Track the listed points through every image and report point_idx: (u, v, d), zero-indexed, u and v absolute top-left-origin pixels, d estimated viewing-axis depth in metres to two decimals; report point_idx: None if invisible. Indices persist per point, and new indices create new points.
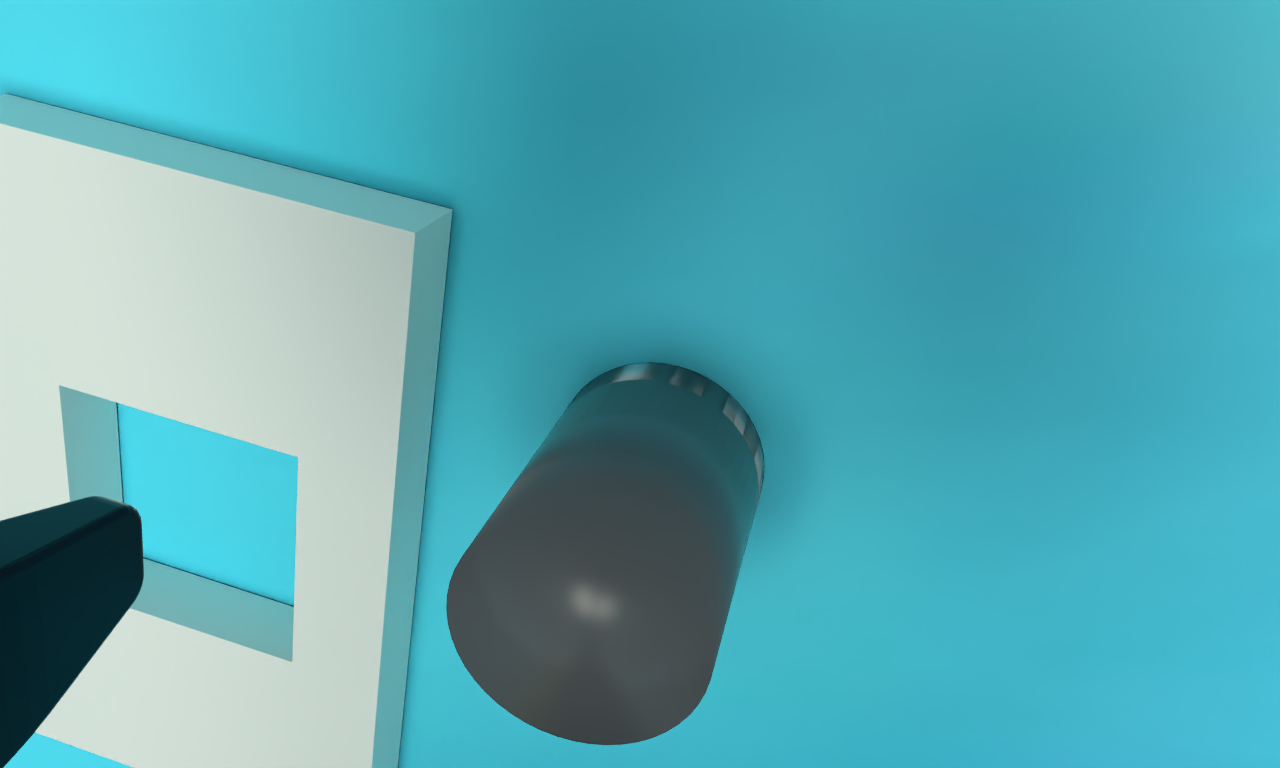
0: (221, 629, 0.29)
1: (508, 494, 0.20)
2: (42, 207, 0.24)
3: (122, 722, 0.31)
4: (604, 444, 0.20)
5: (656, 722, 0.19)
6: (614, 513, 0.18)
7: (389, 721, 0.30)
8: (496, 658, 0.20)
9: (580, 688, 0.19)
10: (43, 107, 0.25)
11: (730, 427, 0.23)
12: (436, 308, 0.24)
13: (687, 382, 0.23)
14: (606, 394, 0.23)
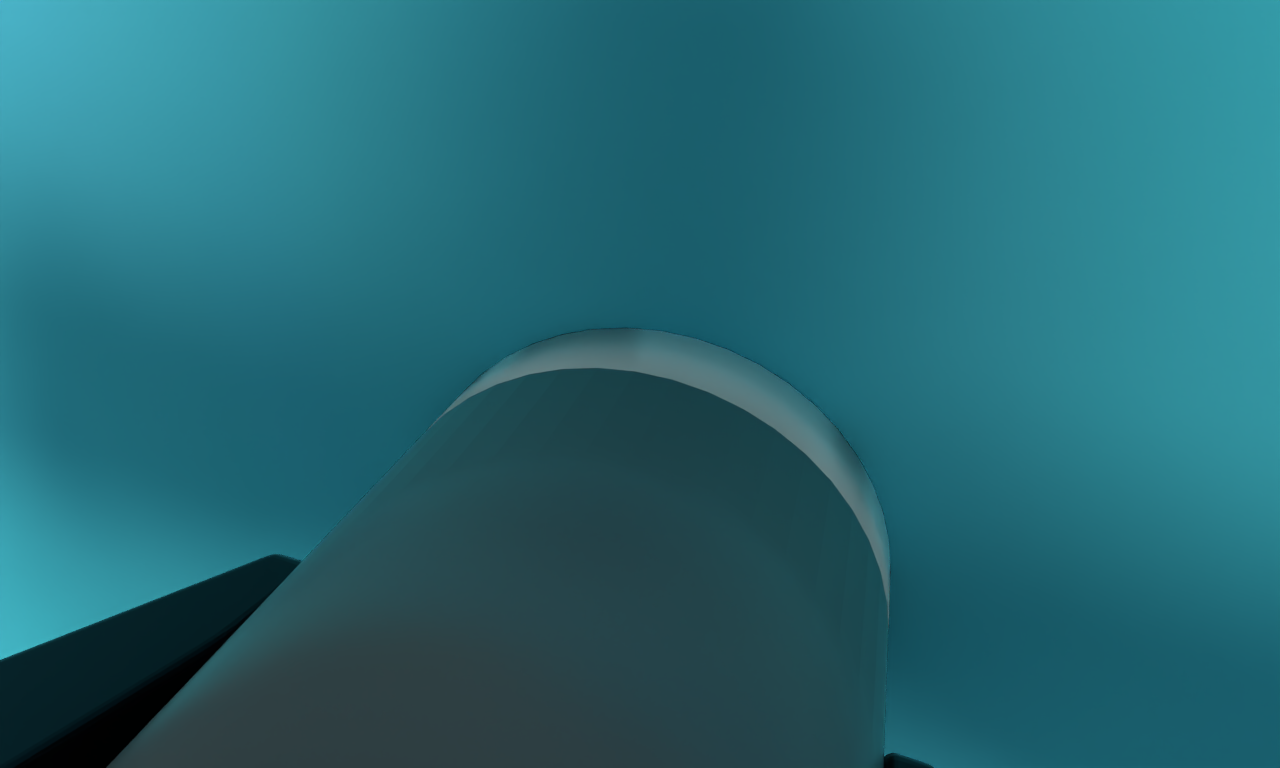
0: None
1: None
2: None
3: None
4: None
5: None
6: None
7: None
8: None
9: None
10: None
11: None
12: None
13: None
14: None
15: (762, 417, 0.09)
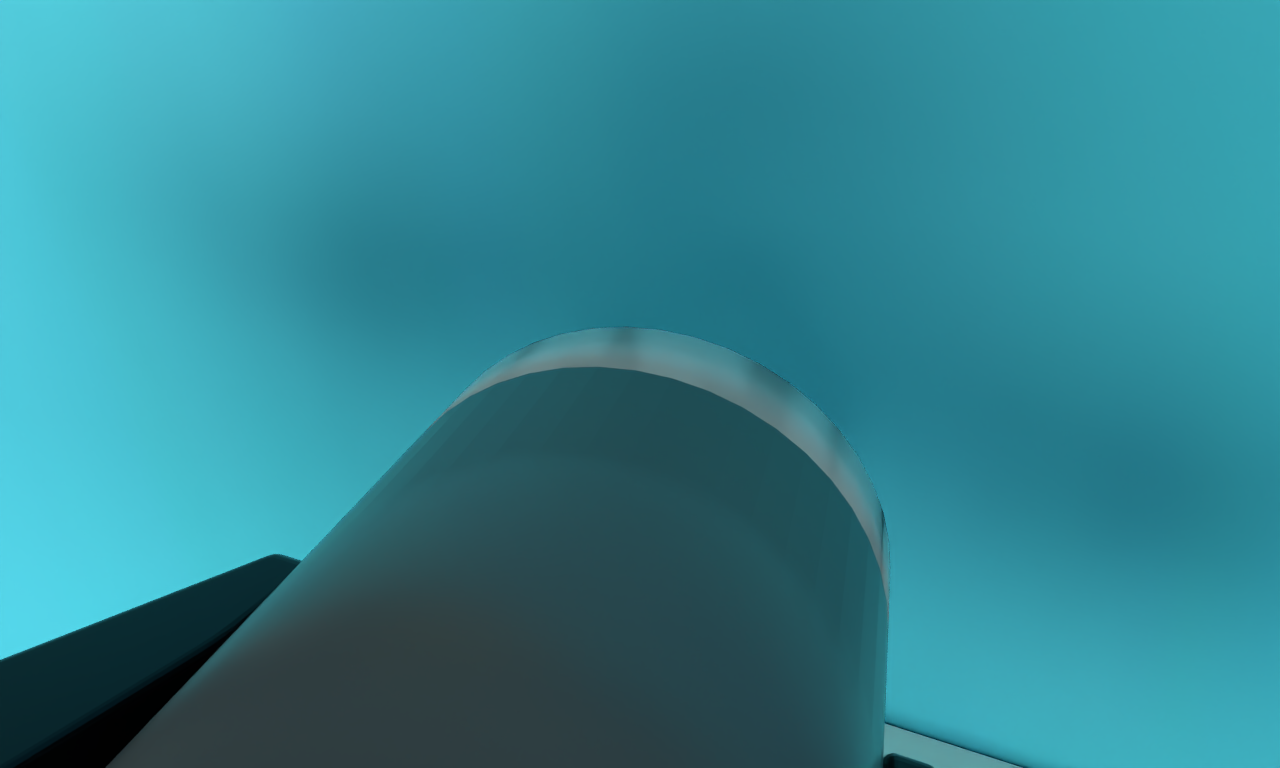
0: None
1: None
2: None
3: None
4: None
5: None
6: None
7: None
8: None
9: None
10: None
11: (434, 426, 0.09)
12: None
13: None
14: None
15: (762, 416, 0.09)
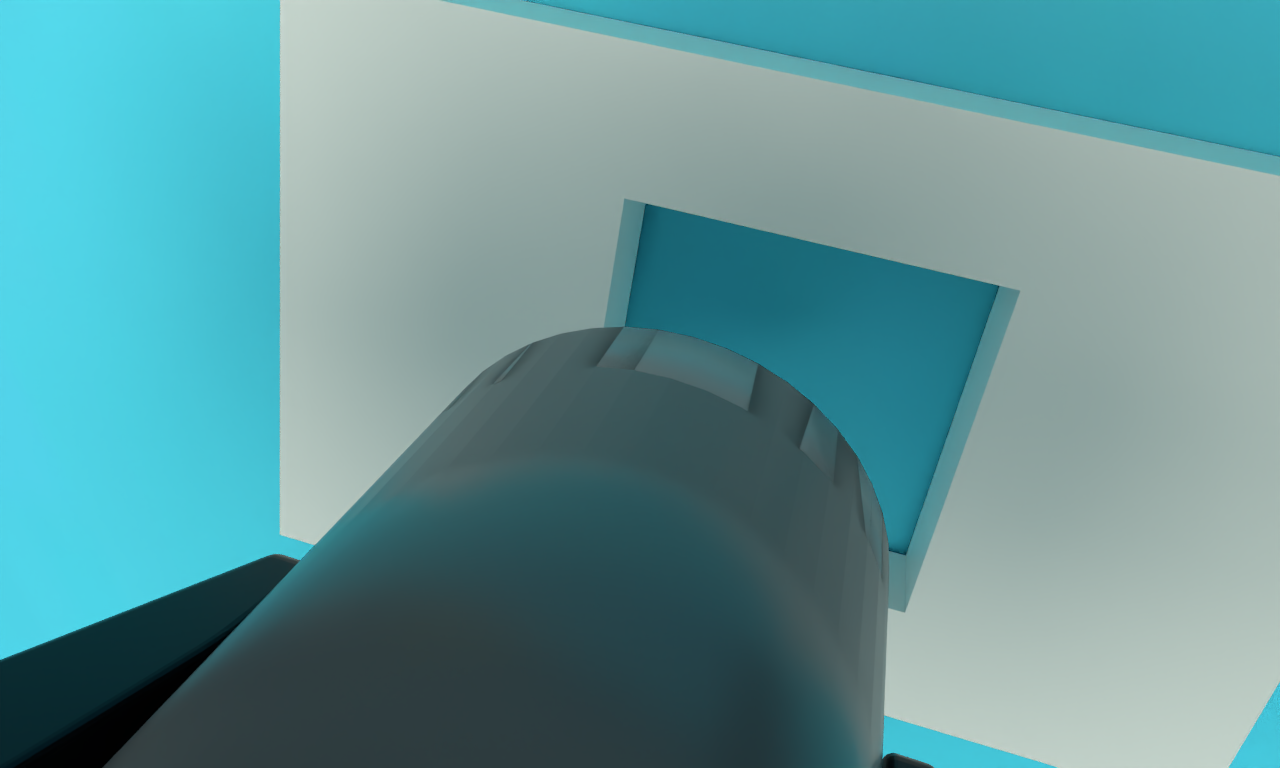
0: (974, 409, 0.18)
1: None
2: (357, 457, 0.21)
3: (1181, 637, 0.18)
4: None
5: None
6: None
7: (1203, 150, 0.16)
8: None
9: None
10: None
11: (432, 426, 0.09)
12: None
13: None
14: None
15: (762, 415, 0.09)
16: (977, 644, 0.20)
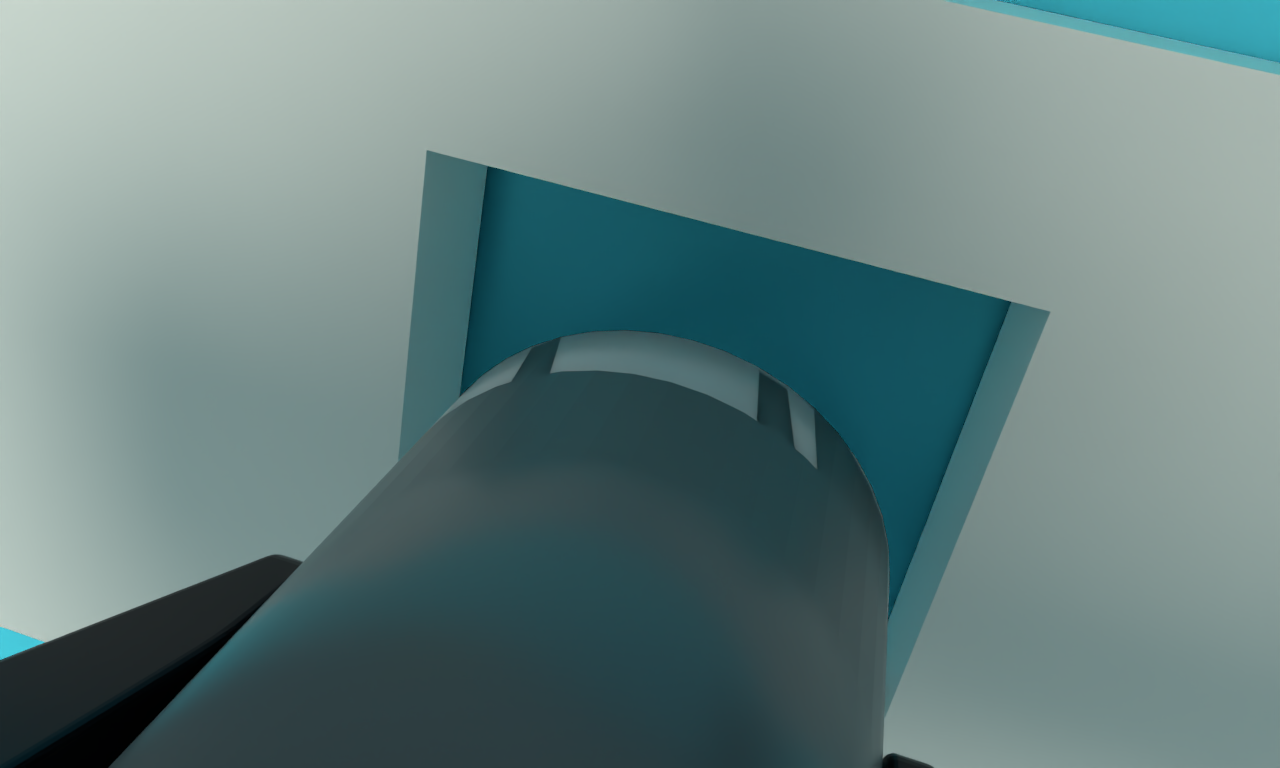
0: (969, 492, 0.12)
1: None
2: (81, 525, 0.15)
3: None
4: None
5: None
6: None
7: None
8: None
9: None
10: None
11: (432, 430, 0.09)
12: None
13: None
14: None
15: (762, 420, 0.09)
16: None
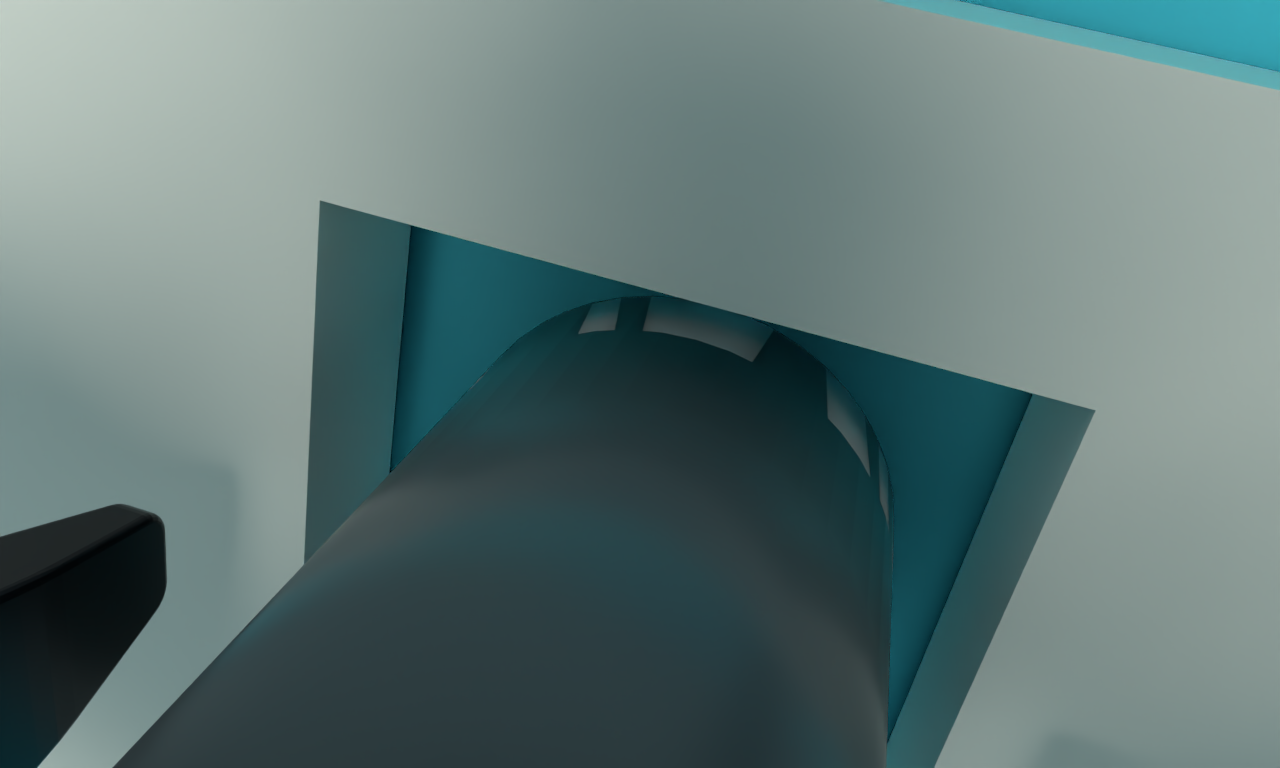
0: (990, 617, 0.09)
1: None
2: None
3: None
4: None
5: None
6: None
7: None
8: None
9: None
10: None
11: None
12: None
13: None
14: None
15: (779, 373, 0.10)
16: None
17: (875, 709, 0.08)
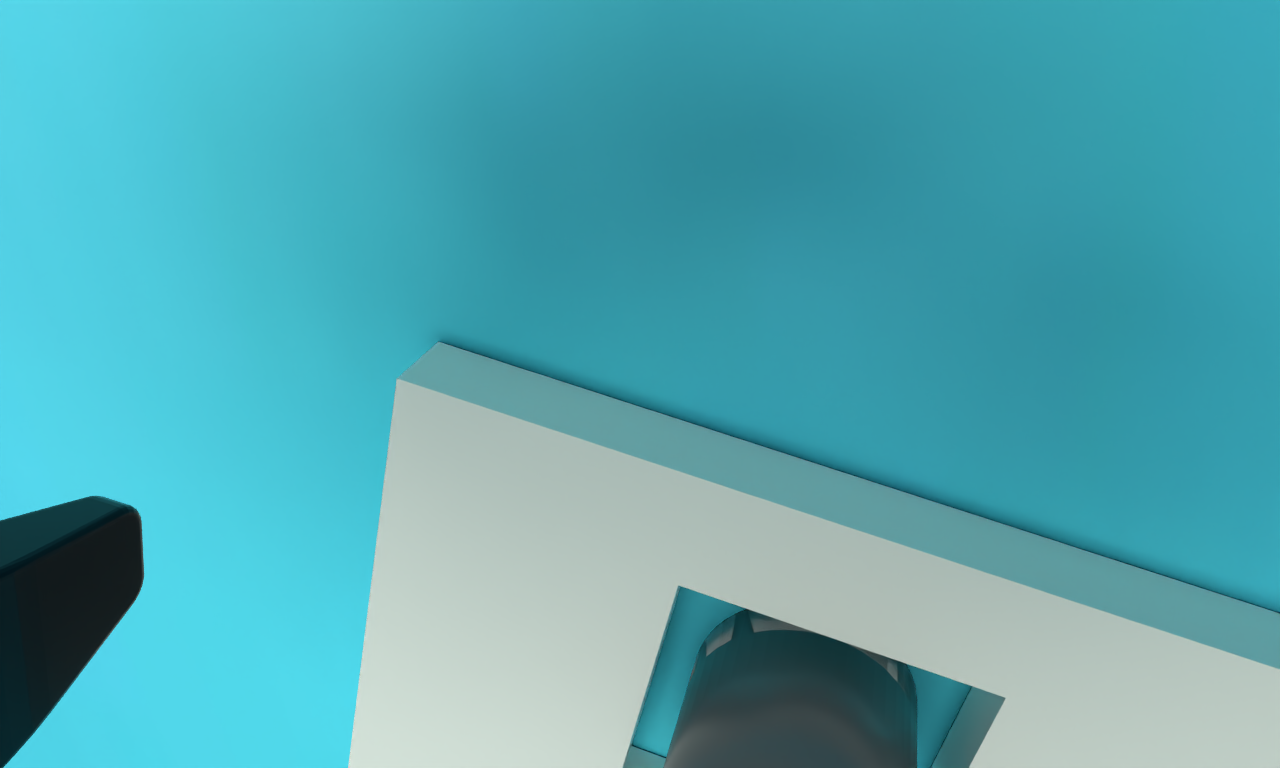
0: None
1: None
2: (423, 736, 0.24)
3: None
4: None
5: None
6: None
7: (1162, 603, 0.19)
8: None
9: None
10: None
11: (726, 649, 0.22)
12: (536, 382, 0.21)
13: (695, 665, 0.23)
14: None
15: (869, 654, 0.22)
16: None
17: None
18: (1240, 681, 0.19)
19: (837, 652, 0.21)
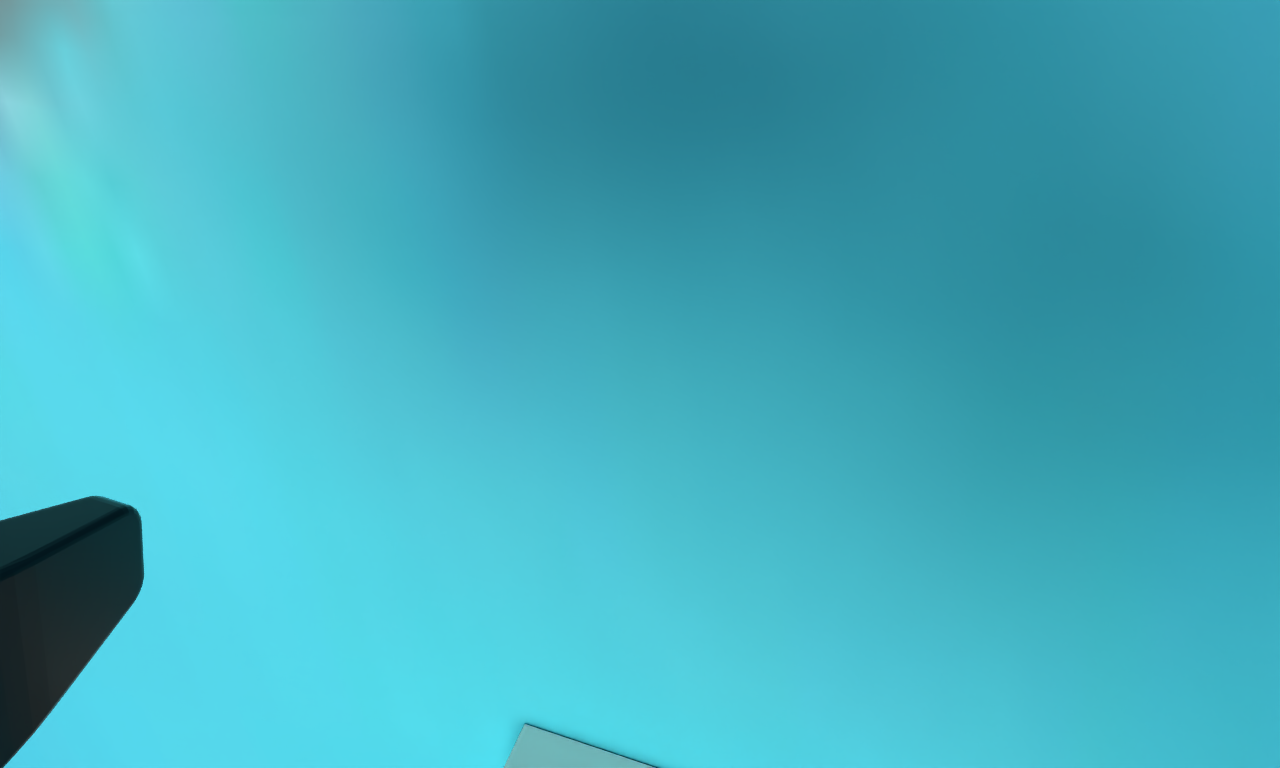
0: None
1: None
2: None
3: None
4: None
5: None
6: None
7: None
8: None
9: None
10: None
11: None
12: (610, 764, 0.25)
13: None
14: None
15: None
16: None
17: None
18: None
19: None
